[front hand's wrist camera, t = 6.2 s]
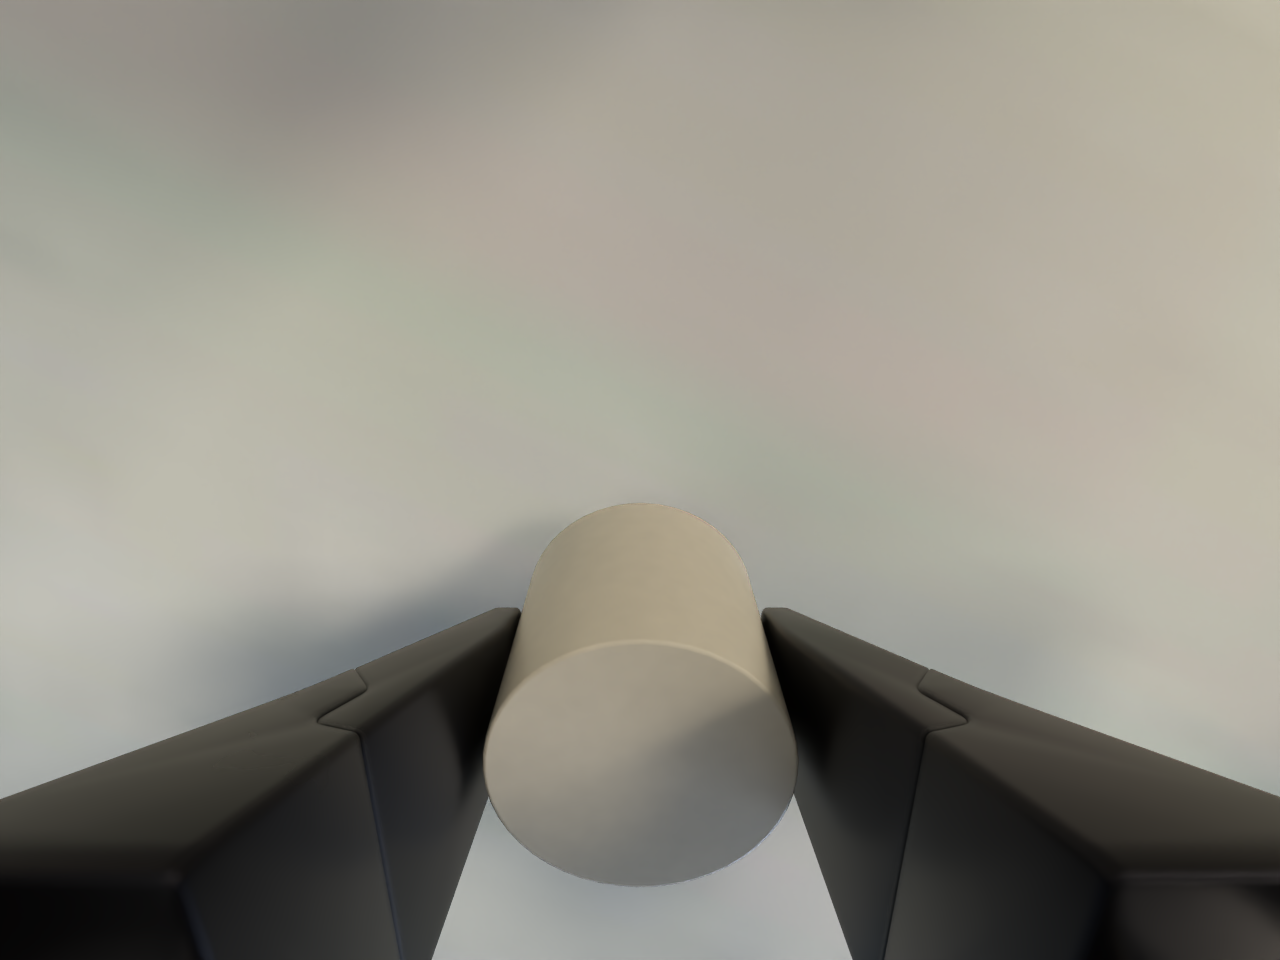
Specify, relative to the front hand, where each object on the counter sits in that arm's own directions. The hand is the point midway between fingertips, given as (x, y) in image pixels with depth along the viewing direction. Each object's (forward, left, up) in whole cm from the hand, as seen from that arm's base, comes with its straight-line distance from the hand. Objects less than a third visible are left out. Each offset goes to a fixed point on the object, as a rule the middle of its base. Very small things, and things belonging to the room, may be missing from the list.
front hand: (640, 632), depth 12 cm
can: (0, 0, -1) cm, 1 cm away
